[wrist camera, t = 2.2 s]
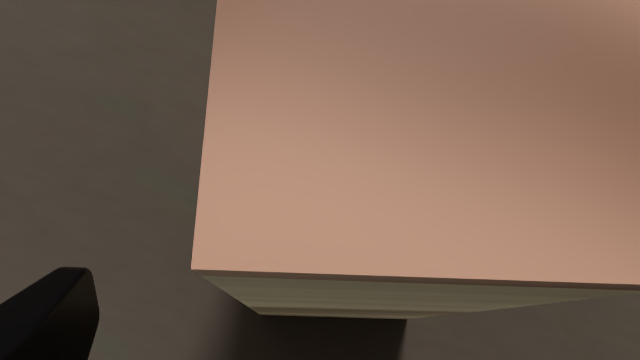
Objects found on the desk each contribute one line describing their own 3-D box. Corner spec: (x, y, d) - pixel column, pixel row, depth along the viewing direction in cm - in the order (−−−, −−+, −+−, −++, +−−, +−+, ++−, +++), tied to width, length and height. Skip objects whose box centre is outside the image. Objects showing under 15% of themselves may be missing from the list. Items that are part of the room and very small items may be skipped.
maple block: (407, 319, 18) (699, 285, 5) (260, 314, 17) (190, 268, 5) (404, 179, 19) (626, -113, 7) (268, 173, 19) (231, -143, 6)
